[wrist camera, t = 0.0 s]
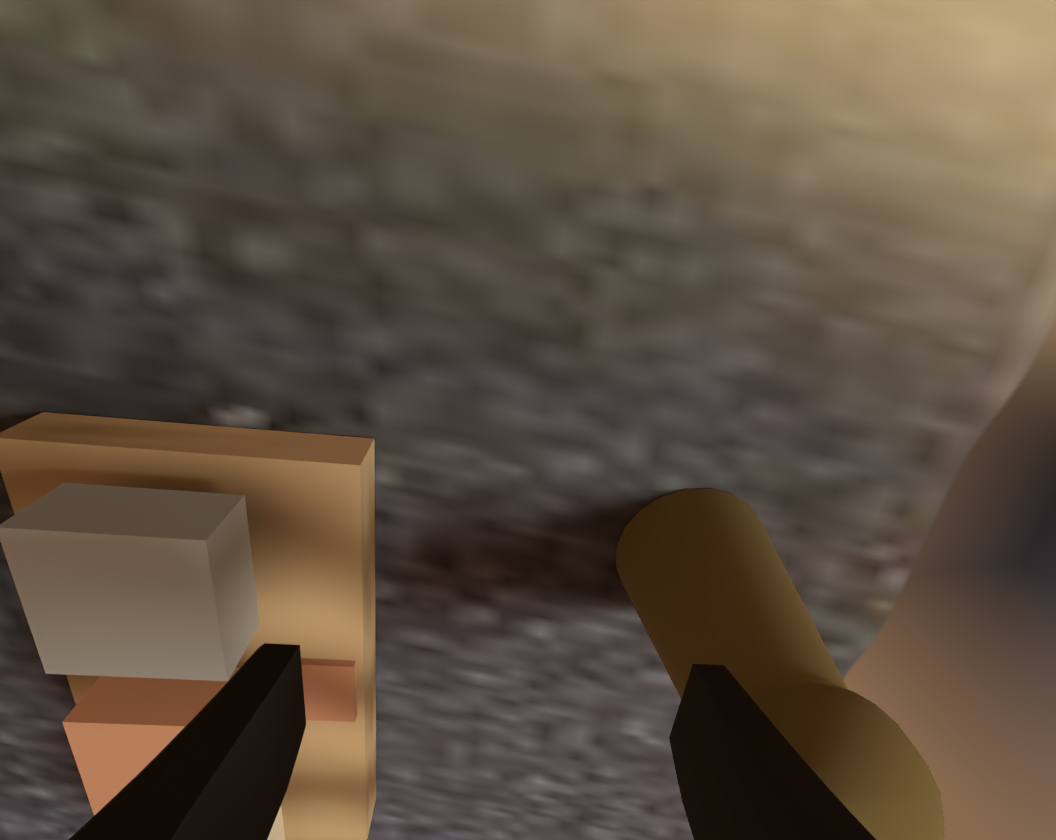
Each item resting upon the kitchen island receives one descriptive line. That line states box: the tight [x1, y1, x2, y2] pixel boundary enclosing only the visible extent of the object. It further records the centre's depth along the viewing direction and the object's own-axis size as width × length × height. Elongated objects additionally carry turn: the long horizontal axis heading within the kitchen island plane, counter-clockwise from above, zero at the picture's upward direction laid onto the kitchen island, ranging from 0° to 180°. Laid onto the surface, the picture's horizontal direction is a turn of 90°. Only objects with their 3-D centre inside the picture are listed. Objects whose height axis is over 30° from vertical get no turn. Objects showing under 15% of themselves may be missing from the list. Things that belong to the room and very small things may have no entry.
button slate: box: [0, 483, 260, 681], centre depth 15 cm, size 5×5×2 cm
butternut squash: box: [616, 488, 944, 840], centre depth 16 cm, size 6×6×11 cm
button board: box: [0, 412, 376, 840], centre depth 21 cm, size 20×11×3 cm, turn 174°
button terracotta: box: [62, 667, 240, 816], centre depth 18 cm, size 5×5×2 cm
